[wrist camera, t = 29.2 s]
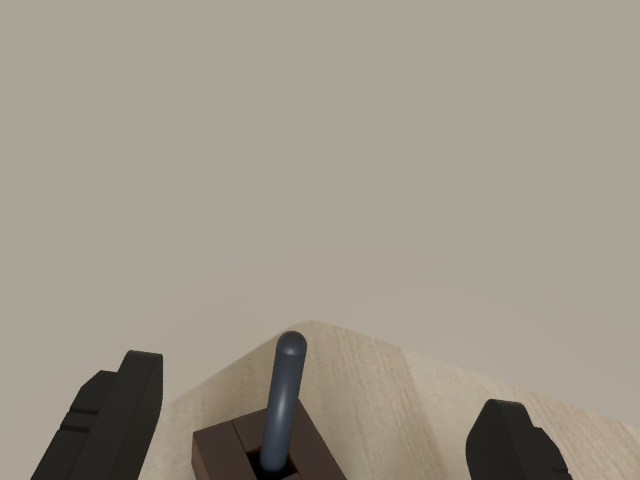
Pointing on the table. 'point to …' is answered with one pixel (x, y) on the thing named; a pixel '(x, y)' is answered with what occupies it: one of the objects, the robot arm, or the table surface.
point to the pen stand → (245, 446)
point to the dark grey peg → (282, 405)
